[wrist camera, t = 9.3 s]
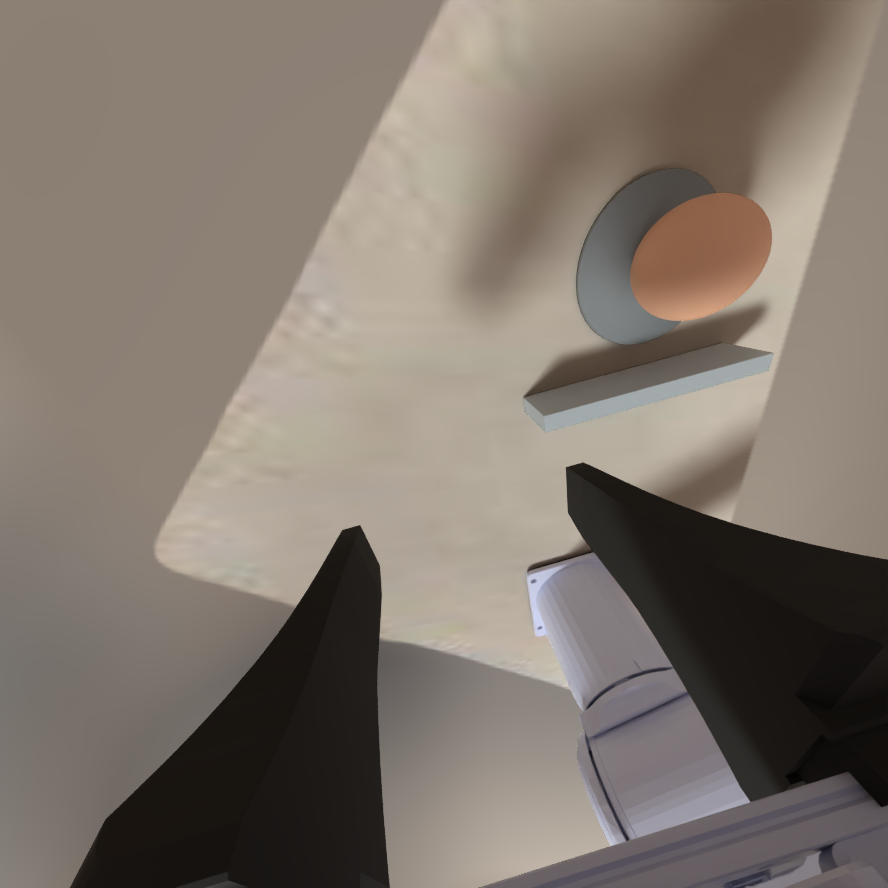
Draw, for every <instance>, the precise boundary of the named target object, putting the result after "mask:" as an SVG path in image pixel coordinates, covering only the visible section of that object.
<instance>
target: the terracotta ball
mask: <svg viewBox="0 0 888 888" xmlns="http://www.w3.org/2000/svg"><path fill="white" fill-rule="evenodd" d="M771 244H772V232H771V225H770V222H769V219H768V217H767V216H766V214H765V212H764V211H763V209H762V208H761V207H760V206H759V205H758V204H756V203H755V202H754V201H753V200H751V199H748V198H746V197H744V196H742V195H737V194H732V193H713V194H708V195H703V196H699V197H697V198H694V199H691V200H688V201H686V202H684V203H682V204H681V205H679V206H677V207H675V208H674V209H672V210H671V211H669V212H668V213H667V214H665V215H664V216H663V217H662V218H660V219H659V220H658V221H657V222H656V223H655V224H654V225H653V226H652V227H651V229H650V230H649V231H648V232H647V233H646V235H645V236H644V238H643V239H642V241H641V242H640V244H639V246H638V248H637V250H636V252H635V255H634V257H633V261H632V265H631V271H630V282H631V288H632V291H633V294H634V296H635V298H636V300H637V302H638V303H639V304H640V305H641V307H642V308H643V309H645V310H646V311H647V312H649V313H650V314H652V315H654V316H656V317H658V318H662V319H665V320H672V321H687V320H694V319H698V318H702V317H705V316H708V315H711V314H713V313H715V312H717V311H719V310H721V309H723V308H725V307H726V306H728V305H730V304H731V303H733V302H734V301H735V300H737V299H738V298H739V297H740V296H741V295H743V294H744V293H745V292H746V291H747V290H748V289H749V288H750V287H751V285H752V284H753V283H754V282H755V280H756V279H757V278H758V276H759V275H760V273H761V272H762V270H763V268H764V266H765V264H766V262H767V259H768V257H769V253H770V250H771Z"/></svg>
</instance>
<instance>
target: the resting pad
mask: <svg viewBox="0 0 888 888" xmlns="http://www.w3.org/2000/svg"><path fill="white" fill-rule="evenodd" d="M713 193H716V192H715V190H714V189H713V187H712V186H711V185H710V184H709V183H708V181H707V180H706V179H704V178H703V177H701V176H700V175H699V174H697V173H694V172H692V171H690V170H685V169H676V168H670V169H664V170H659V171H656V172H653V173H650V174H647V175H645V176H643V177H641V178H639V179H637V180H635V181H633V182H632V183H630V184H629V185H628V186H626V187H625V188H623V189H622V190H621V191H620V192H619V193H618V194H616V195H615V196H614V197H613V198H612V199H611V201H610V202H609V203H608V204H607V205H606V206H605V207H604V209H603V210H602V211H601V213H600V214H599V215H598V217H597V219H596V220H595V222H594V224H593V225H592V227H591V229H590V231H589V233H588V235H587V237H586V239H585V242H584V245H583V248H582V250H581V254H580V258H579V262H578V268H577V275H576V291H577V299H578V304H579V307H580V310H581V313H582V315H583V317H584V319H585V321H586V322H587V324H588V325H589V327H590V328H591V329H592V330H593V331H594V332H595V333H596V334H598V335H599V336H601V337H602V338H604V339H606V340H609V341H612V342H615V343H619V344H639V343H644V342H647V341H650V340H653V339H655V338H657V337H659V336H661V335H663V334H665V333H666V332H668V331H670V330H671V329H672V328H674V327H675V326H676V325H678V324H679V323H680V322H681V321H672V320H665V319H662V318H658V317H656V316H654V315H652V314H650V313H649V312H647V311H646V310H645V309H643V308H642V307H641V305H640V304H639V303H638V302H637V300H636V298H635V296H634V294H633V291H632V288H631V282H630V271H631V265H632V261H633V257H634V255H635V252H636V250H637V248H638V246H639V244H640V242H641V241H642V239H643V238H644V236H645V235H646V233H647V232H648V231H649V230H650V229H651V227H652V226H653V225H654V224H655V223H656V222H657V221H658V220H659V219H660V218H662V217H663V216H664V215H665V214H667V213H668V212H669V211H671V210H672V209H674V208H675V207H677V206H679V205H681V204H682V203H684V202H686V201H688V200H691V199H694V198H697V197H699V196H703V195H708V194H713Z"/></svg>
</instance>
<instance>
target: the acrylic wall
mask: <svg viewBox="0 0 888 888" xmlns="http://www.w3.org/2000/svg"><path fill="white" fill-rule="evenodd" d="M773 354H774V353H771V352H766V351H761V350H756V349H751V348H746V347H742V346H737V345H732V344H727V343H720V344H716V345H713V346H709V347H706V348H702V349H698V350H695V351H691V352H687V353H684V354H680V355H676V356H673V357H669V358H665V359H662V360H658V361H654V362H651V363H647V364H643V365H640V366H636V367H632V368H629V369H625V370H621V371H618V372H614V373H611V374H607V375H603V376H600V377H596V378H592V379H589V380H585V381H581V382H578V383H574V384H570V385H567V386H563V387H559V388H556V389H552V390H548V391H545V392H541V393H537V394H534V395H530V396H527V397H523V399H524V409H525V413H526V414H527V415H528V416H529V417H530V418H531V419H532V420H533V421H534V422H535V423H536V424H537V425H538V426H539V427H540V428H541V429H542V430H543V431H544V432H545V433H546V432H549V431H553V430H557V429H560V428H564V427H567V426H571V425H575V424H578V423H582V422H586V421H589V420H593V419H596V418H600V417H604V416H607V415H611V414H614V413H618V412H622V411H625V410H629V409H632V408H636V407H640V406H643V405H647V404H650V403H654V402H658V401H661V400H665V399H668V398H672V397H676V396H679V395H683V394H686V393H690V392H694V391H697V390H701V389H705V388H708V387H712V386H715V385H719V384H723V383H726V382H730V381H733V380H737V379H741V378H744V377H748V376H751V375H755V374H759V373H762V372H766V371H769V368H770V364H771V361H772V357H773Z"/></svg>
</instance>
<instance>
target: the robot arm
mask: <svg viewBox="0 0 888 888" xmlns="http://www.w3.org/2000/svg"><path fill="white" fill-rule="evenodd" d="M566 479H567V503H568V513H569V515H570V517H571V519H572V520H573V522H574V524H575V526H576V527H577V529H578V531H579V532H580V534H581V536H582V537H583V539H584V540H585V541H586V543H587V544H588V545H589V547H590V548H591V549H592V551H593V552H592V553H589V554H585V555H582V556H579V557H575V558H572V559H568V560H565V561H561V562H558V563H554V564H551V565H547V566H544V567H540V568H537V569H534V570H530V571H529V572H527V574H526V578H527V585H528V592H529V599H530V606H531V612H532V619H533V626H534V632H535V635H536V636H538V637H540V636H544V635H547V637H548V639H549V641H550V644H551V646H552V648H553V651H554V653H555V655H556V657H557V660H558V662H559V664H560V667H561V669H562V671H563V673H564V676H565V678H566V680H567V682H568V685H569V687H570V689H571V692H572V694H573V696H574V698H575V700H576V702H577V703H578V705H579V706H580V708H581V709H582V710H583V713H581V714H579V715H578V716H579V719H580V722H581V724H582V726H583V729H584V731H585V732H584V733H581V734H580V735H579V736H578V748H577V760H578V765H579V769H580V773H581V776H582V779H583V783H584V786H585V788H586V791H587V794H588V797H589V799H590V802H591V805H592V807H593V809H594V812H595V814H596V816H597V819H598V821H599V823H600V825H601V828H602V830H603V832H604V834H605V836H606V838H607V840H608V842H609V844H610V847H607V848H603V849H600V850H597V851H594V852H591V853H588V854H584V855H581V856H578V857H575V858H572V859H569V860H565V861H562V862H559V863H556V864H553V865H550V866H546V867H543V868H540V869H537V870H533V871H531V872H527V873H524V874H521V875H518V876H514V877H511V878H508V879H505V880H502V881H498V882H496V883H492V884H489V885H486V886H483V887H479V888H888V560H887V559H880V558H875V557H869V556H864V555H859V554H854V553H849V552H844V551H840V550H835V549H830V548H826V547H821V546H816V545H812V544H808V543H804V542H799V541H795V540H791V539H787V538H783V537H779V536H776V535H772V534H768V533H764V532H761V531H757V530H754V529H749V528H746V527H743V526H740V525H736V524H733V523H730V522H727V521H724V520H721V519H718V518H715V517H712V516H709V515H705V514H702V513H700V512H697V511H694V510H691V509H688V508H686V507H683V506H681V505H678V504H676V503H673V502H670V501H668V500H665V499H663V498H660V497H658V496H656V495H653V494H651V493H649V492H646V491H644V490H642V489H640V488H637V487H635V486H633V485H631V484H629V483H626V482H624V481H622V480H620V479H618V478H616V477H614V476H611V475H609V474H607V473H605V472H603V471H601V470H599V469H597V468H594V467H592V466H590V465H588V464H585V463H580V464H576V465H573V466H569V467H566ZM381 599H382V592H381V575H380V565H379V563H378V561H377V559H376V557H375V555H374V553H373V551H372V549H371V547H370V544H369V542H368V540H367V538H366V536H365V534H364V532H363V530H362V528H361V526H360V525H359V526H355V527H352V528H348V529H345V530H342V532H341V534H340V535H339V537H338V539H337V540H336V542H335V544H334V545H333V547H332V549H331V551H330V552H329V554H328V556H327V558H326V559H325V561H324V563H323V565H322V566H321V568H320V570H319V571H318V573H317V575H316V576H315V578H314V580H313V581H312V583H311V585H310V586H309V588H308V590H307V591H306V593H305V594H304V596H303V597H302V599H301V600H300V602H299V604H298V605H297V607H296V608H295V610H294V611H293V613H292V614H291V616H290V617H289V619H288V620H287V622H286V623H285V624H284V626H283V627H282V629H281V630H280V631H279V633H278V634H277V636H276V637H275V638H274V639H273V641H272V642H271V643H270V645H269V646H268V647H267V648H266V650H265V651H264V652H263V654H262V655H261V656H260V658H259V659H258V660H257V661H256V663H255V664H254V665H253V666H252V667H251V668H250V670H249V671H248V672H247V673H246V674H245V675H244V677H243V678H242V679H241V680H240V681H239V682H238V684H237V685H236V686H235V687H234V688H233V690H232V691H231V692H230V693H229V694H228V695H227V697H226V698H225V699H224V700H223V701H222V702H221V703H220V705H219V706H218V707H217V708H216V709H215V710H214V711H213V712H212V713H211V714H210V716H209V717H208V718H207V719H206V720H205V721H204V722H203V723H202V724H201V725H200V726H199V727H198V729H196V731H195V732H194V733H193V734H192V735H191V736H190V737H189V738H188V739H187V740H186V741H185V742H184V743H183V744H182V745H181V746H180V747H179V748H178V749H177V750H176V751H175V752H174V753H173V754H172V755H171V756H170V757H169V759H167V760H166V761H165V762H164V763H163V764H162V765H161V766H160V767H159V768H158V769H157V770H156V771H155V772H154V773H153V774H152V775H151V776H150V777H149V778H148V779H147V780H146V781H145V782H144V783H143V784H142V785H141V786H140V787H139V788H138V789H137V790H136V791H135V792H134V793H133V794H132V795H131V796H130V797H128V799H126V801H124V802H123V803H122V804H121V805H120V806H119V807H118V808H117V809H116V810H115V811H114V812H113V813H112V814H111V815H110V816H109V817H108V818H107V819H106V820H105V822H104V823H103V825H102V827H101V829H100V831H99V833H98V835H97V837H96V839H95V841H94V842H93V844H92V846H91V848H90V850H89V852H88V854H87V856H86V858H85V860H84V862H83V864H82V866H81V868H80V869H79V871H78V873H77V875H76V877H75V879H74V881H73V883H72V885H71V887H70V888H390V886H389V875H388V864H387V852H386V839H385V827H384V815H383V800H382V784H381V768H380V750H379V727H378V697H377V669H378V651H379V635H380V618H381Z"/></svg>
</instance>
